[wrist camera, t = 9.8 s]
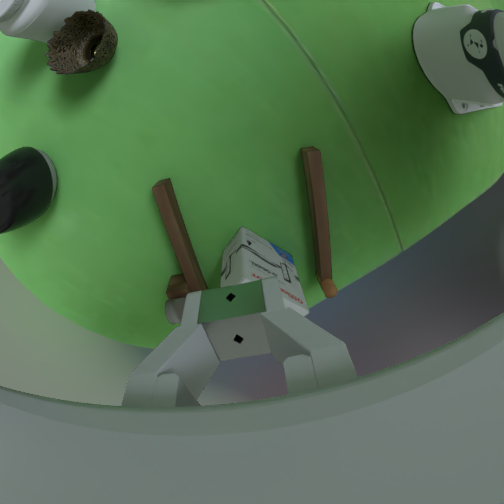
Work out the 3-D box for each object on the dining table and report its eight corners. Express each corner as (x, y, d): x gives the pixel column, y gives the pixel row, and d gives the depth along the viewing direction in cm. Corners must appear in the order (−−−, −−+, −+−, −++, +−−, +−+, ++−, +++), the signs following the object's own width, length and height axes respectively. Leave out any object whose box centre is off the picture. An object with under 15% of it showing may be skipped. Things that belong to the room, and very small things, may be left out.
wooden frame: (313, 146, 30) (334, 156, 24) (327, 275, 39) (342, 306, 33) (137, 187, 31) (115, 208, 25) (184, 304, 40) (177, 338, 34)
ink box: (293, 255, 37) (314, 313, 27) (271, 280, 39) (284, 341, 29) (241, 224, 34) (244, 277, 24) (220, 252, 36) (216, 311, 26)
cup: (115, 15, 19) (86, -3, 12) (143, 48, 22) (117, 33, 15) (72, 55, 21) (36, 49, 14) (97, 89, 24) (62, 88, 17)
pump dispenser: (77, 158, 28) (0, 198, 15) (56, 220, 32) (-5, 278, 19) (31, 129, 25) (-47, 155, 11) (14, 189, 28) (-50, 233, 15)
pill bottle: (94, 36, 20) (20, 12, 7) (47, 52, 19) (-29, 47, 6) (103, -11, 16) (43, -50, 3) (55, 7, 16) (-11, -13, 2)
